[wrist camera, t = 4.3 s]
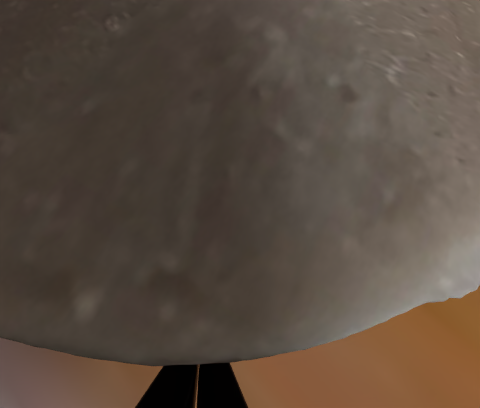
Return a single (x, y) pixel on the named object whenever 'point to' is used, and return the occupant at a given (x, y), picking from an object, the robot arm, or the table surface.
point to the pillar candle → (233, 172)
